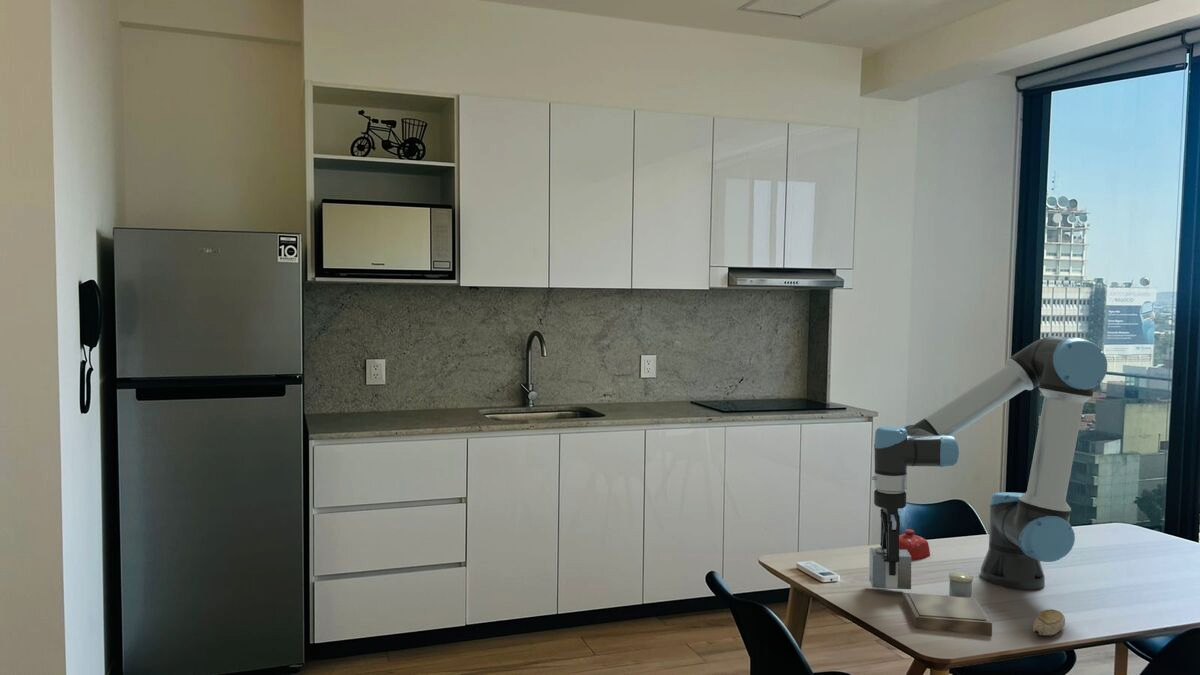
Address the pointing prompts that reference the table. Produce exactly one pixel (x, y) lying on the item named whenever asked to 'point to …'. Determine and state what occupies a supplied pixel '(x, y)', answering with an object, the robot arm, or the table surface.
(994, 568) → the robot arm
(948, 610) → the walnut riser
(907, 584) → the grey knobbed box
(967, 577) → the slate ceramic salt pot
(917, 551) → the butter dish
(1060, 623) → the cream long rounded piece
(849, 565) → the table surface
